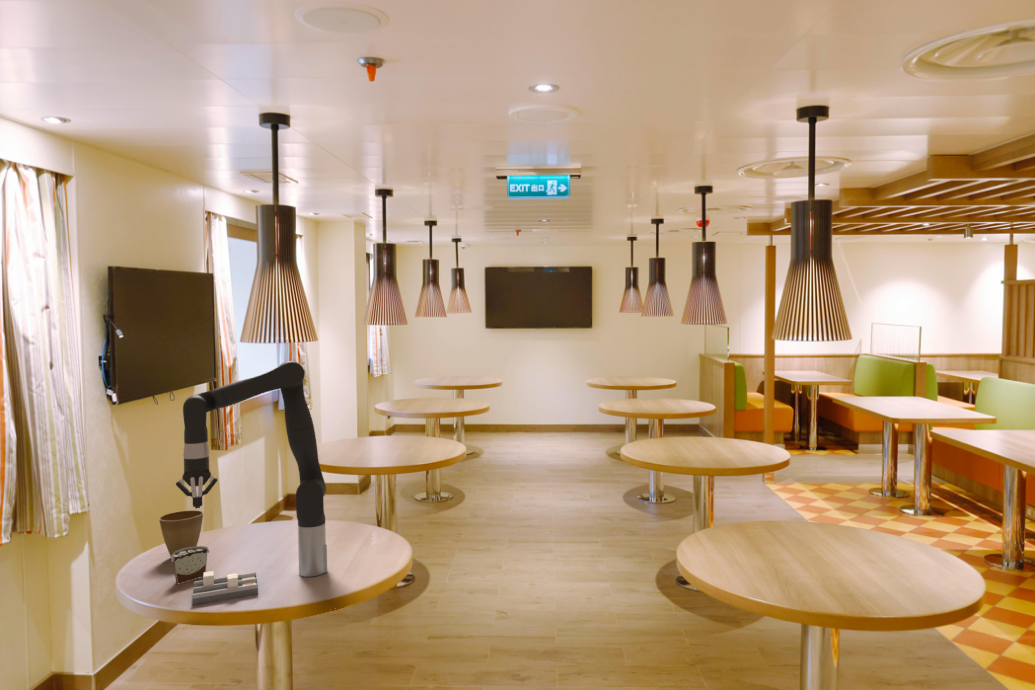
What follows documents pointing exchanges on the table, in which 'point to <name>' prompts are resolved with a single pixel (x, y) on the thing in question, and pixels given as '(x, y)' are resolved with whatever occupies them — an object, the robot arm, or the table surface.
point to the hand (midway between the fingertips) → (197, 507)
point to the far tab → (208, 578)
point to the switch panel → (225, 589)
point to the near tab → (232, 580)
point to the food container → (189, 563)
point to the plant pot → (181, 529)
